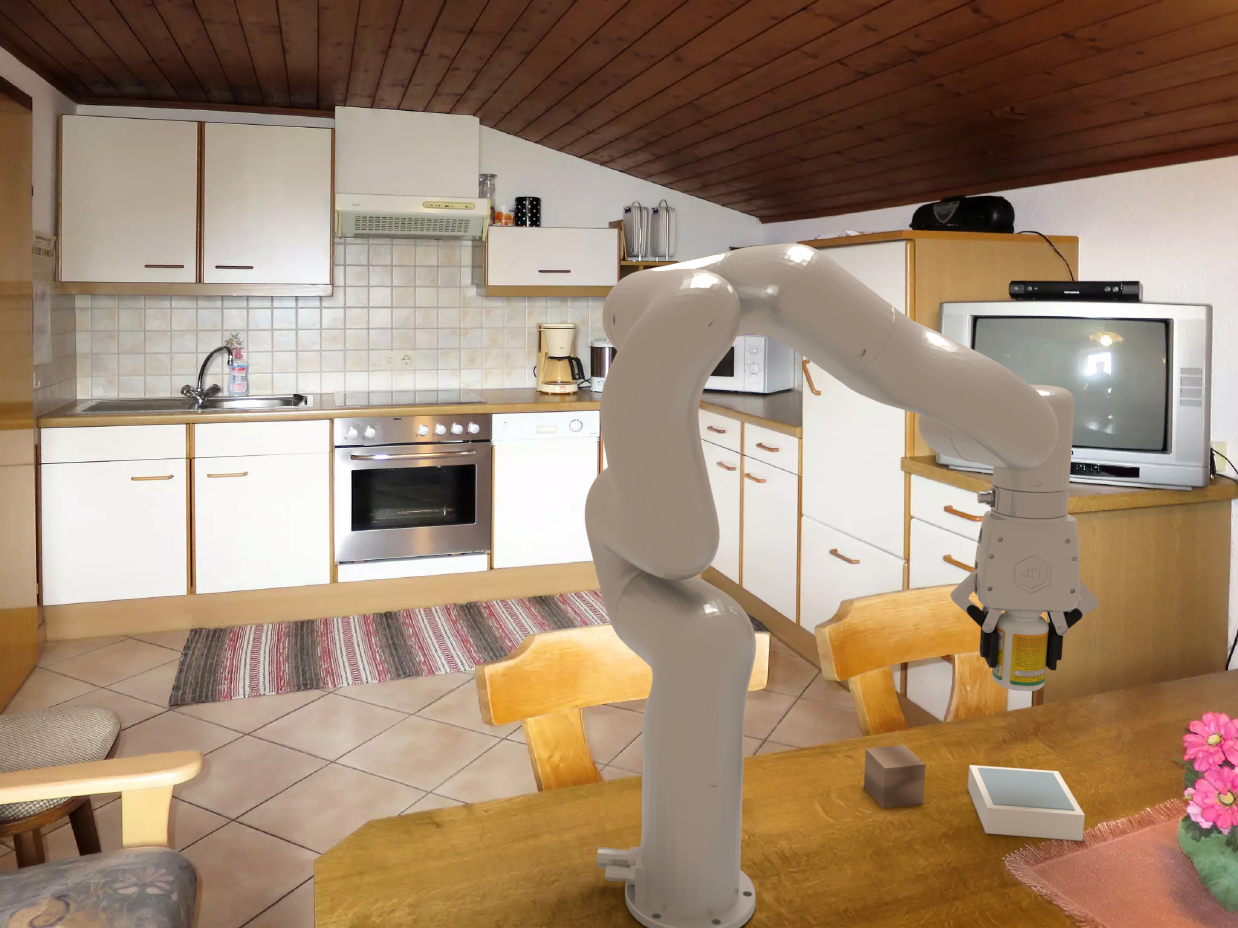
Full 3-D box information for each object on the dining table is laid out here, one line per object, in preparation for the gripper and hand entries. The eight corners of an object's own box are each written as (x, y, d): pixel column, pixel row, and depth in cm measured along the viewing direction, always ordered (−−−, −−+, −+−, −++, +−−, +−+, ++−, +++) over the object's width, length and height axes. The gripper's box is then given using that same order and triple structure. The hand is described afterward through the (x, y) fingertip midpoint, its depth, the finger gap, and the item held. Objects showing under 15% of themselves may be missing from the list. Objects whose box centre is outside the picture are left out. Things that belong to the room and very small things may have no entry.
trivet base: (985, 832, 108) (987, 806, 108) (967, 788, 118) (969, 763, 117) (1082, 840, 107) (1084, 813, 106) (1056, 794, 117) (1058, 769, 116)
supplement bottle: (982, 681, 109) (986, 598, 107) (1008, 669, 112) (1012, 587, 111) (1028, 696, 105) (1034, 610, 103) (1054, 683, 108) (1059, 599, 106)
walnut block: (882, 808, 113) (884, 768, 113) (863, 787, 118) (865, 748, 117) (923, 804, 114) (925, 764, 114) (902, 783, 119) (904, 744, 118)
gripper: (951, 509, 103) (943, 674, 106) (1127, 512, 100) (1114, 681, 103) (939, 493, 110) (932, 649, 113) (1103, 496, 107) (1092, 655, 111)
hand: (1019, 662), depth 108 cm, fingers closed on supplement bottle, 5 cm apart
